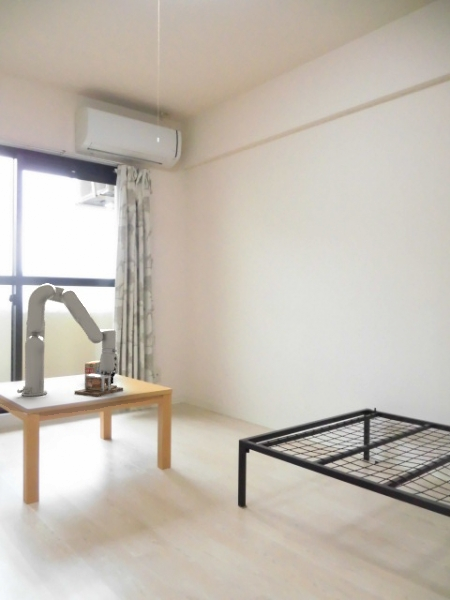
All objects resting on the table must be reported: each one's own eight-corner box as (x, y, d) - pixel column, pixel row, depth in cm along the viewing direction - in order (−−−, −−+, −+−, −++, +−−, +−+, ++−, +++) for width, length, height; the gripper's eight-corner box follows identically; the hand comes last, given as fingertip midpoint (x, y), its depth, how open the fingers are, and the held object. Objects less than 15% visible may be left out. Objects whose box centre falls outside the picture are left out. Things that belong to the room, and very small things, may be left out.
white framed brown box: (101, 390, 257) (101, 376, 257) (88, 389, 261) (88, 374, 261) (116, 386, 268) (117, 373, 268) (104, 385, 272) (104, 371, 272)
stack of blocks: (102, 377, 311) (102, 358, 311) (111, 377, 309) (111, 359, 309) (84, 382, 290) (84, 362, 290) (93, 383, 289) (93, 363, 289)
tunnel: (102, 391, 255) (103, 377, 255) (84, 389, 261) (84, 375, 261) (110, 390, 260) (110, 375, 260) (92, 387, 266) (92, 373, 266)
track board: (97, 397, 249) (97, 394, 249) (74, 393, 256) (74, 391, 256) (123, 390, 268) (123, 387, 268) (101, 387, 275) (101, 385, 275)
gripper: (124, 351, 268) (124, 383, 268) (102, 349, 275) (101, 381, 275) (115, 352, 261) (115, 386, 261) (93, 350, 269) (92, 383, 269)
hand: (108, 383), depth 268 cm, fingers closed on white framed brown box, 3 cm apart
